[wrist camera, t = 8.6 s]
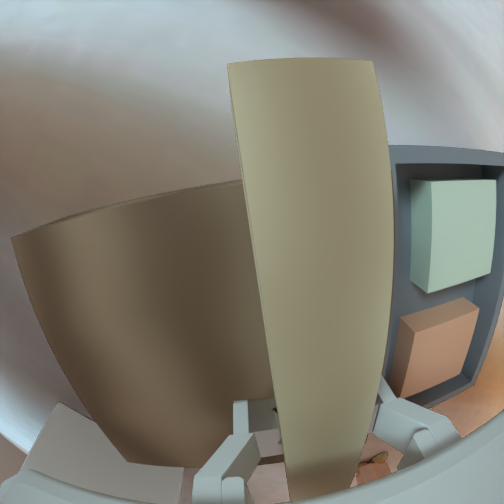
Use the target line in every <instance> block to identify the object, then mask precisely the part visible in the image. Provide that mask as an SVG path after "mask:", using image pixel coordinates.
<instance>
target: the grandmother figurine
mask: <svg viewBox="0 0 504 504" xmlns="http://www.w3.org/2000/svg"><path fill="white" fill-rule="evenodd" d="M387 456H388V453H387V452H384V453H381V454H378V455H376V456H375V457H374V458H373V459H372V463H370V464H368V463H367V462H362V463H360V464H358V466H357V469H356V472H355V473H358V474H357V475H356V477H357V481H358V485H361V484H364V483H367V482H370V481H373V480H376V479H379V478H382V477H384V476H387V475H389V474H391V472H390V469H389V467H388V464H387V462H385V460H386V459H387Z"/></svg>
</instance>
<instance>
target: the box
mask: <svg viewBox="0 0 504 504" xmlns="http://www.w3.org/2000/svg"><path fill="white" fill-rule="evenodd" d="M388 148H389V157H390V167H391V170H392V176H393V190H394V211H395V261H394V283H393V297H392V308H391V318H390V327H389V335H388V342H387V349H386V356H385V362H384V367H383V373H382V376H383V378H384V379H385V381H386V382H387V384H388V385H389V378H390V373H391V368H392V363H393V358H394V352H395V347H396V341H397V334H398V327H399V319H400V317H402V316H405V315H409V314H412V313H415V312H419V311H422V310H425V309H429V308H432V307H435V306H438V305H441V304H444V303H447V302H450V301H453V300H456V299H459V298H461V297H464V298H466V299H467V300H469V301H470V302H471V303H473V304H474V305H476V306H477V307H478V308H480V309H479V313H478V318H477V321H476V325H475V329H474V333H473V336H472V339H471V343H470V346H469V349H468V352H467V355H466V358H465V361H464V364H463V367H462V369H461V372H460V374H458V375H457V376H455V377H452V378H450V379H448V380H446V381H444V382H442V383H440V384H438V385H435V386H433V387H431V388H429V389H426V390H424V391H422V392H419V393H417V394H414V395H412V396H409V397H406V398H404V399H405V400H407V401H410V402H412V403H414V404H417V405H419V406H422V407H424V408H426V409H429V408H431V407H433V406H435V405H437V404H439V403H441V402H443V401H445V400H447V399H449V398H451V397H453V396H455V395H457V394H459V393H461V392H463V391H465V390H466V389H468V388H470V387H472V386H473V385H474V384H475V382H476V379H477V377H478V375H479V372H480V370H481V367H482V365H483V362H484V360H485V357H486V354H487V352H488V349H489V346H490V343H491V340H492V337H493V334H494V331H495V327H496V324H497V321H498V317H499V313H500V309H501V306H502V301H503V297H504V153H501V152H493V151H485V150H476V149H466V148H454V147H439V146H415V145H388ZM448 177H479V178H486V179H493V180H496V224H495V238H494V249H493V257H492V265H491V272H490V273H489V274H486V275H483V276H480V277H478V278H475V279H472V280H469V281H466V282H463V283H460V284H457V285H454V286H450V287H447V288H444V289H441V290H437V291H434V292H431V293H426V292H425V291H423V290H422V289H421V288H419V287H418V286H417V285H415V284H414V283H413V282H411V281H410V266H411V234H412V222H411V191H410V179H422V178H448ZM389 387H390V385H389ZM390 389H391V390H392V388H391V387H390ZM392 392H393V390H392ZM393 393H394V392H393ZM394 395H395V393H394ZM395 396H396V395H395ZM396 398H397V396H396Z"/></svg>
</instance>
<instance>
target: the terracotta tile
mask: <svg viewBox="0 0 504 504" xmlns="http://www.w3.org/2000/svg"><path fill="white" fill-rule="evenodd" d="M479 309H480V308H478V307H477V306H476V305H474V304H473V303H471V302H470V301H469V300H467V299H466V298H464V297H461V298H459V299H456V300H453V301H450V302H447V303H444V304H441V305H438V306H435V307H432V308H429V309H425V310H422V311H419V312H415V313H412V314H409V315H405V316H402V317H400V319H399V327H398V334H397V341H396V347H395V352H394V358H393V363H392V368H391V373H390V378H389V385H390V387H391V388H392V390H393V392H394V393H395V395H396V396H397V398H403V399H404V398H406V397H409V396H412V395H414V394H417V393H419V392H422V391H424V390H426V389H429V388H431V387H433V386H435V385H438V384H440V383H442V382H444V381H446V380H448V379H450V378H452V377H455V376H457V375H458V374H460V372H461V369H462V367H463V364H464V361H465V358H466V355H467V352H468V349H469V346H470V343H471V339H472V336H473V333H474V329H475V325H476V321H477V318H478V313H479Z"/></svg>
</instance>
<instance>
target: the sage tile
mask: <svg viewBox="0 0 504 504" xmlns="http://www.w3.org/2000/svg"><path fill="white" fill-rule="evenodd" d="M410 191H411V222H412V234H411V266H410V281H411V282H413V283H414V284H415V285H417V286H418V287H419V288H421V289H422V290H423V291H425V292H426V293H431V292H434V291H437V290H441V289H444V288H447V287H450V286H454V285H457V284H460V283H463V282H466V281H469V280H472V279H475V278H478V277H480V276H483V275H486V274H489V273H490V272H491V265H492V257H493V249H494V238H495V224H496V180H493V179H486V178H479V177H448V178H422V179H410Z"/></svg>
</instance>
